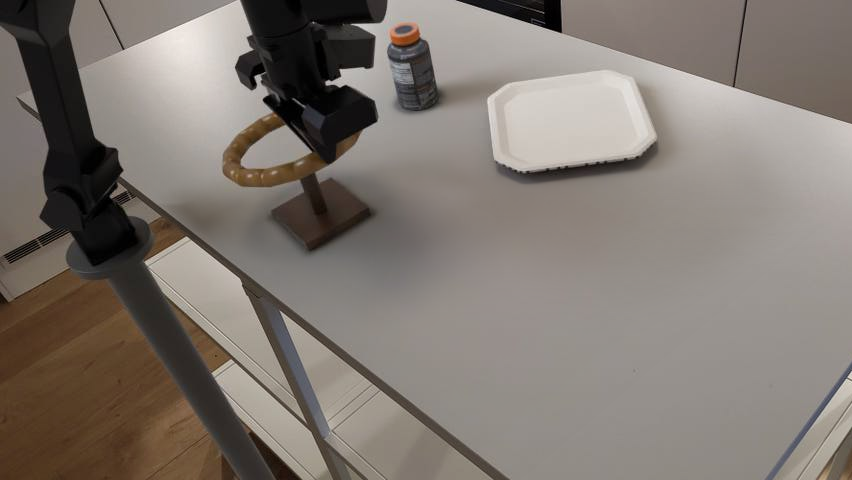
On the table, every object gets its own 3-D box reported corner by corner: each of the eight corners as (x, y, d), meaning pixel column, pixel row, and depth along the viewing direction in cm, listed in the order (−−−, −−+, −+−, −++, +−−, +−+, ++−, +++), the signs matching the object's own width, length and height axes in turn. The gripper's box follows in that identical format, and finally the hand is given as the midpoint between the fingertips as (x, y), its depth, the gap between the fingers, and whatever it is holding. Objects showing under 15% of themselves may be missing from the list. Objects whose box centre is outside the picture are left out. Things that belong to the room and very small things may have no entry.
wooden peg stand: (308, 251, 90) (290, 205, 85) (273, 217, 95) (254, 172, 90) (370, 214, 93) (357, 168, 88) (333, 184, 99) (318, 138, 94)
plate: (487, 98, 109) (485, 85, 107) (630, 79, 108) (630, 65, 107) (497, 187, 94) (495, 173, 93) (663, 165, 93) (664, 151, 92)
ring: (268, 208, 78) (260, 192, 77) (204, 166, 90) (196, 152, 89) (395, 127, 85) (389, 111, 84) (319, 98, 97) (313, 84, 96)
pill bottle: (432, 85, 113) (419, 13, 105) (443, 104, 109) (430, 32, 101) (394, 95, 113) (378, 24, 105) (403, 115, 108) (387, 43, 100)
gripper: (407, 17, 68) (435, 157, 79) (305, -33, 80) (342, 95, 90) (302, 69, 64) (347, 209, 75) (209, 7, 75) (260, 137, 86)
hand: (325, 157), depth 82 cm, fingers closed on ring, 2 cm apart
